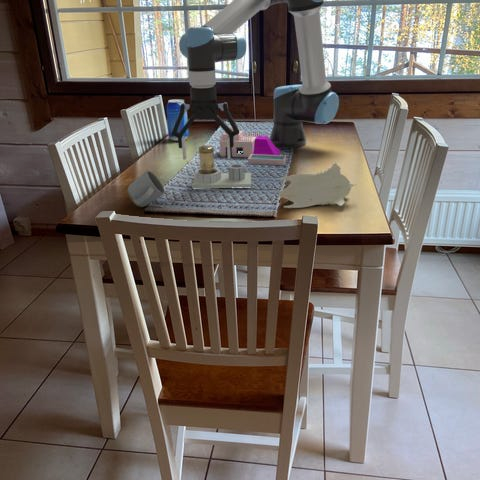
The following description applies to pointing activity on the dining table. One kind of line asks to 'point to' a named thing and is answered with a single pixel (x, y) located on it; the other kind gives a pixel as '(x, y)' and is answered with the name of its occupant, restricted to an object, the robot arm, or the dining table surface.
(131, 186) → the ceramic mug
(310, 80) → the robot arm
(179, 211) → the dining table surface
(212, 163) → the cylinder
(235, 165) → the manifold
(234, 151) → the model house
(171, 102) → the beer can
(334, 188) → the beige lumpy piece
